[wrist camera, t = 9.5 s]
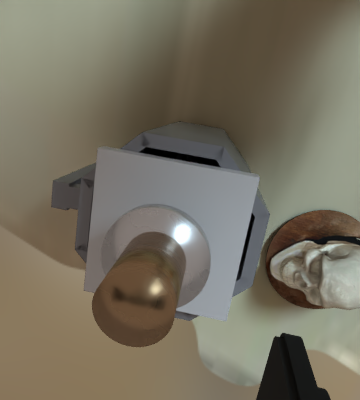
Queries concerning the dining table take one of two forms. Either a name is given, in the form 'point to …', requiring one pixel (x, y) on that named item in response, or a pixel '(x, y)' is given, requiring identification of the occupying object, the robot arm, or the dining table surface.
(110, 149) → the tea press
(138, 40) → the dining table surface
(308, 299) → the skull
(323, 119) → the dining table surface
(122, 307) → the plunger
